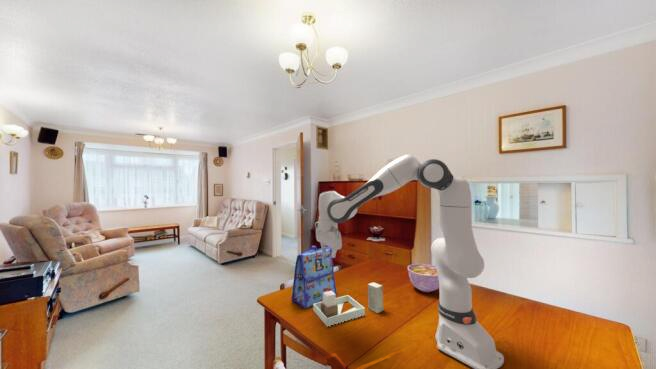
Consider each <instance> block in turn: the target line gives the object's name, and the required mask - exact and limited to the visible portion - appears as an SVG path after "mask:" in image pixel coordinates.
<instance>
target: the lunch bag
mask: <svg viewBox="0 0 656 369" xmlns="http://www.w3.org/2000/svg"><path fill="white" fill-rule="evenodd" d="M325 247H326V252H325V253H323V252H322V248H317V246H316V245H312V246H311V249H310V250H308V251H304V252H302V253H300V254H297V255H296V256H297V257H296V260H295V266H294V277H293V283H292V291H291V292H292V294H291V301H293V302H295V303H297V304H299V305H300V306H301V307H302V308H303V309H308V308H310V307H313V304H314V303H318V302H322V301H323V292H327V291H332V292H334V293H335V294H336V296H337V295H338V292H337V287H336V280H335V279H336V278H335V273H334V262H333V259H334V258H332V257H331V253H332V250H331V248H330V247H328V246H325Z"/></svg>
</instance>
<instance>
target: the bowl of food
mask: <svg viewBox="0 0 656 369" xmlns="http://www.w3.org/2000/svg"><path fill="white" fill-rule="evenodd" d="M407 273H408V277H409V280H410V283H411V284H412V285H413V287H415V288H416V289H418V290H419V291H421V292H424V293H431V292H434V291H436V290H438V289H439V279H438V274H437V269H436V265H432V264H429V263H428V264H427V263H413V264H410V265H408V266H407Z"/></svg>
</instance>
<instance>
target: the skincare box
mask: <svg viewBox="0 0 656 369" xmlns="http://www.w3.org/2000/svg"><path fill="white" fill-rule="evenodd" d="M383 287H384V285H382V284H380V283H377V282H374V281H373V282H370V283H367V296H368V297H367V299H368V302H367V303H368V309H369V310H371V311H372V312H374V313H376V314H379V313H381V312H383V311H384V294H383V292H384V291H383V290H384V289H383Z"/></svg>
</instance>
